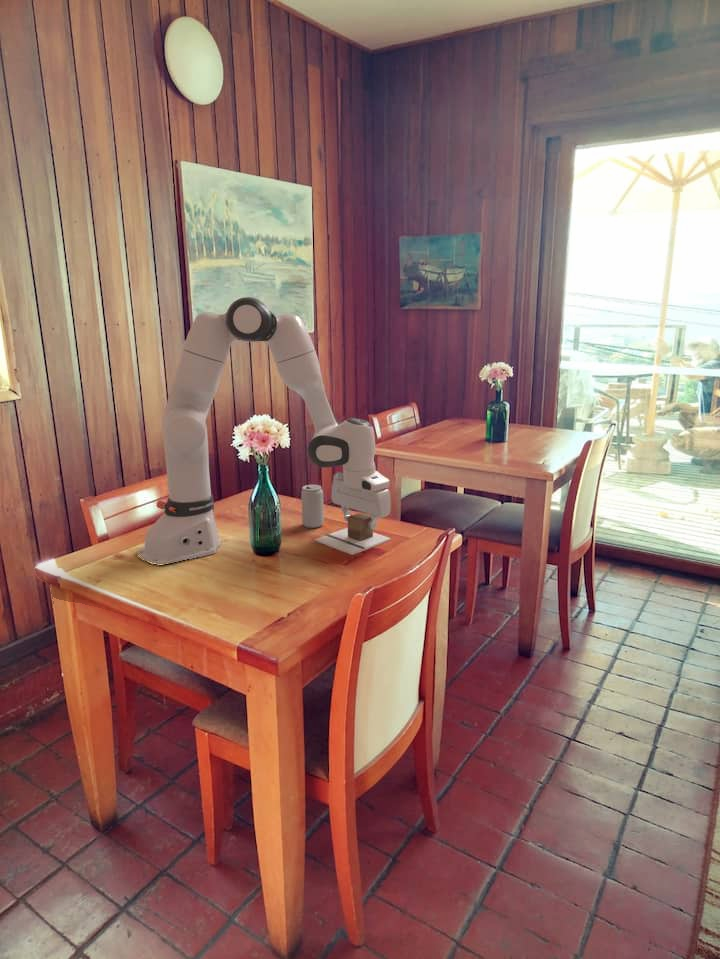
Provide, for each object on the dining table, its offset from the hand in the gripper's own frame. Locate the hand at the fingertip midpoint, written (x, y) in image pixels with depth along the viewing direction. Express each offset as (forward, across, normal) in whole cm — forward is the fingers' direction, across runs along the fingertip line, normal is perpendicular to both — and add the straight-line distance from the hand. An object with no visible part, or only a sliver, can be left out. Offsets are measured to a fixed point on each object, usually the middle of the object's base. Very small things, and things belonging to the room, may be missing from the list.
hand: (360, 524), depth 184 cm
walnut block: (+4, 0, 0) cm, 4 cm away
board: (+4, 0, -2) cm, 5 cm away
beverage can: (+4, -18, -2) cm, 19 cm away
